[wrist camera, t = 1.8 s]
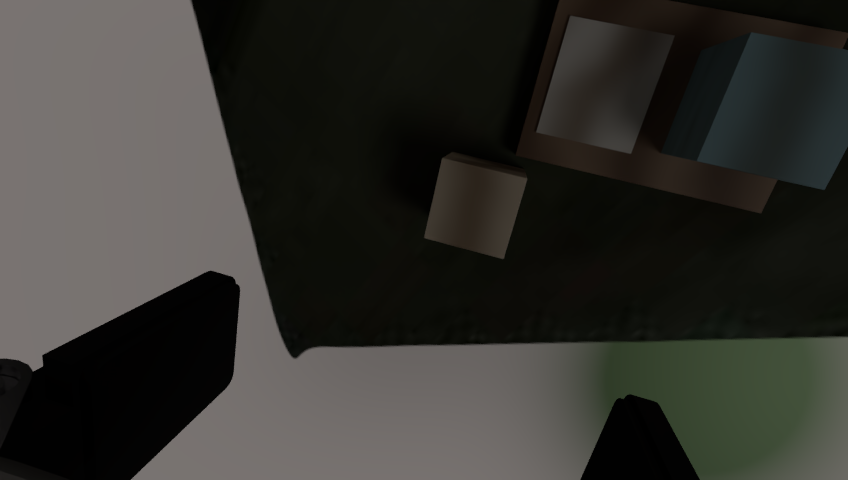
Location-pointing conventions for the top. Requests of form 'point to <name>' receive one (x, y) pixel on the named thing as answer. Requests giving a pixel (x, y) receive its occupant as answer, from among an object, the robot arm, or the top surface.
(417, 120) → the top surface
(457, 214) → the maple block
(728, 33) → the base
